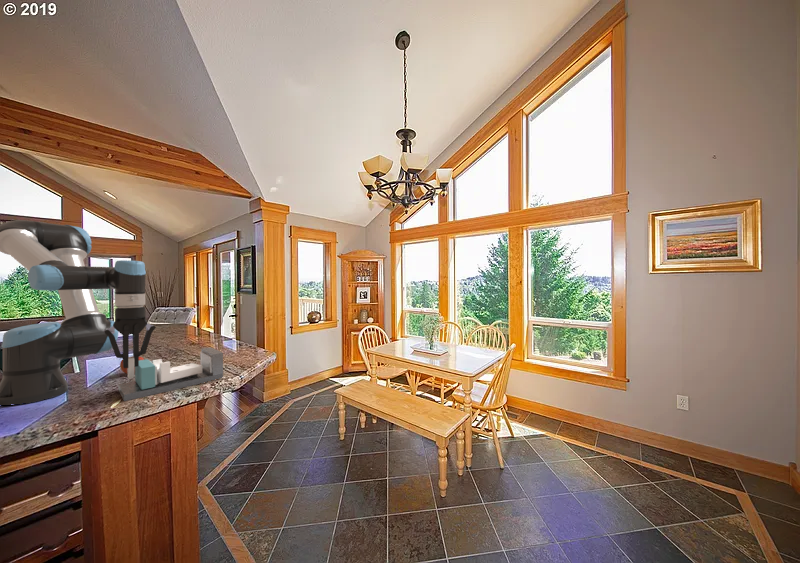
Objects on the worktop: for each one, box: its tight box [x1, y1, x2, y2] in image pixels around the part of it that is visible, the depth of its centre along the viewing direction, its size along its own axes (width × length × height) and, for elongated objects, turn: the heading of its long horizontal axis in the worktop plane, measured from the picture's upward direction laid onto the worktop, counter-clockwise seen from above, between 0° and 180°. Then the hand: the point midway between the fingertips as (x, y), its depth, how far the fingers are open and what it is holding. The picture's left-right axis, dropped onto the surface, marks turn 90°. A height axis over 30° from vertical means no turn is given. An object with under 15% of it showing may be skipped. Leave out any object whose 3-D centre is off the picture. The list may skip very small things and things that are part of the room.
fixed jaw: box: [199, 346, 224, 376], centre depth 116 cm, size 14×4×8 cm, turn 49°
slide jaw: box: [134, 358, 157, 390], centre depth 102 cm, size 13×4×7 cm, turn 49°
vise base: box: [117, 369, 224, 402], centre depth 107 cm, size 14×28×2 cm, turn 139°
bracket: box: [151, 358, 202, 384], centre depth 108 cm, size 13×7×8 cm, turn 150°
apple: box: [119, 355, 145, 375], centre depth 119 cm, size 7×7×8 cm
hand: (130, 377), depth 98 cm, fingers closed
